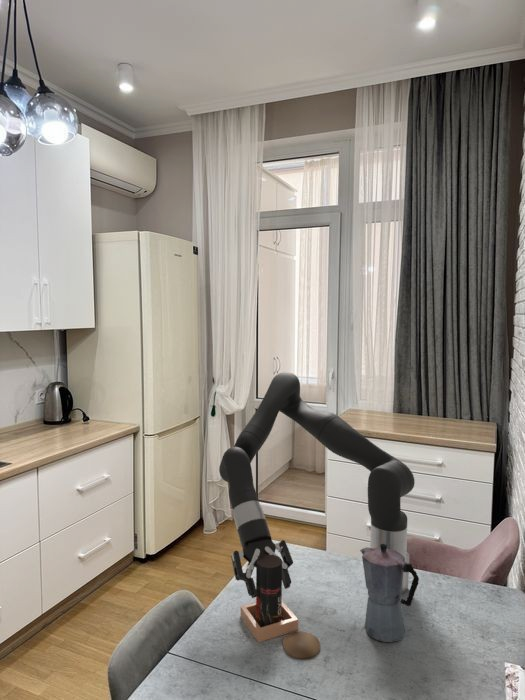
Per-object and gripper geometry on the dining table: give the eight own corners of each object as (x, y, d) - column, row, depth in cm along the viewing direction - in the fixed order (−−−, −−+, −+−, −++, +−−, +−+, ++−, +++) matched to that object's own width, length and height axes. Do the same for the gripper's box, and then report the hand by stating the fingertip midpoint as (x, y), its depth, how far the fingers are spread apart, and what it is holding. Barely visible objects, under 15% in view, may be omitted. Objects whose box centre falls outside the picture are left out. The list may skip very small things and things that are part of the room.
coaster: (307, 630, 110) (307, 627, 110) (327, 652, 102) (327, 649, 102) (276, 640, 106) (276, 637, 106) (294, 663, 99) (294, 661, 99)
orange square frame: (277, 605, 119) (277, 596, 118) (298, 629, 110) (298, 619, 109) (240, 616, 114) (240, 606, 114) (258, 642, 105) (258, 631, 105)
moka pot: (369, 607, 118) (371, 529, 117) (428, 638, 107) (431, 551, 106) (346, 625, 112) (348, 541, 110) (406, 659, 101) (409, 567, 99)
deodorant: (279, 633, 108) (279, 569, 107) (253, 629, 110) (253, 566, 109) (283, 617, 114) (284, 556, 113) (258, 613, 115) (259, 553, 114)
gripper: (271, 524, 125) (292, 589, 116) (220, 535, 119) (238, 604, 110) (281, 512, 120) (304, 579, 111) (228, 522, 114) (247, 594, 105)
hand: (271, 592), depth 110 cm, fingers open, 8 cm apart
